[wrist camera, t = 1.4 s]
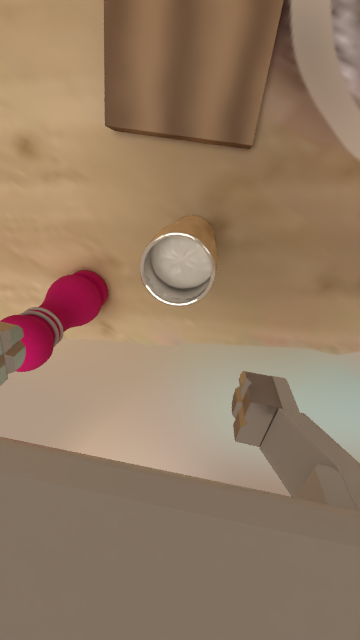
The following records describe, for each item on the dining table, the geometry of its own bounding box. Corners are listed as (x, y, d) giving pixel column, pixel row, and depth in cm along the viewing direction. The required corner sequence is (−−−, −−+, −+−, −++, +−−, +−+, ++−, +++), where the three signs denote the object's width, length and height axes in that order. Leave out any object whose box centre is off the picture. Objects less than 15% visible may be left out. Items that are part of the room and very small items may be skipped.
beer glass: (168, 209, 34) (137, 224, 21) (222, 214, 34) (224, 234, 21) (165, 261, 38) (136, 303, 24) (214, 267, 37) (211, 313, 24)
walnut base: (295, -71, 23) (305, -104, 20) (249, 148, 30) (252, 145, 28) (116, -86, 24) (103, -120, 21) (114, 130, 31) (104, 125, 28)
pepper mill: (113, 311, 43) (38, 402, 25) (71, 308, 43) (-31, 393, 26) (108, 268, 39) (18, 337, 22) (63, 265, 40) (-60, 329, 22)
